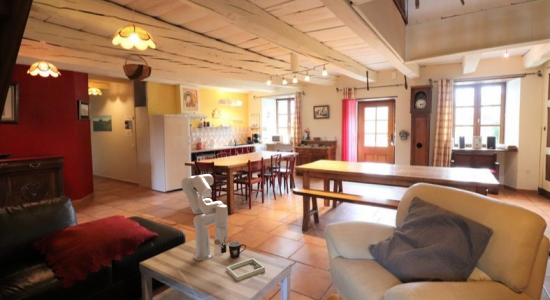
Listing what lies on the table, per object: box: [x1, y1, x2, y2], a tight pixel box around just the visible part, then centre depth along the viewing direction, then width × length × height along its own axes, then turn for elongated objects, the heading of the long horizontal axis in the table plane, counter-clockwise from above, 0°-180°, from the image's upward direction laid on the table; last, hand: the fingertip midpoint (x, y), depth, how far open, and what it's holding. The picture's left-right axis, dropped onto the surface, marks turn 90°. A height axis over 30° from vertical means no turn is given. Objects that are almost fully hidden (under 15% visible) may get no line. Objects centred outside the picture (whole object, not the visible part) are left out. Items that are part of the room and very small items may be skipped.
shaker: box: [213, 239, 224, 257], centre depth 179 cm, size 5×5×9 cm
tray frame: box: [225, 257, 266, 282], centre depth 182 cm, size 15×20×3 cm
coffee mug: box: [227, 240, 247, 259], centre depth 200 cm, size 12×9×10 cm
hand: (222, 250), depth 181 cm, fingers closed on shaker, 4 cm apart
